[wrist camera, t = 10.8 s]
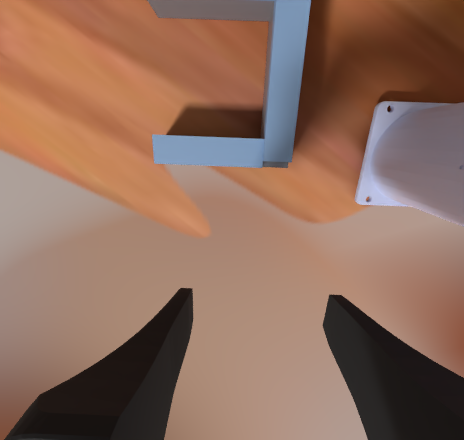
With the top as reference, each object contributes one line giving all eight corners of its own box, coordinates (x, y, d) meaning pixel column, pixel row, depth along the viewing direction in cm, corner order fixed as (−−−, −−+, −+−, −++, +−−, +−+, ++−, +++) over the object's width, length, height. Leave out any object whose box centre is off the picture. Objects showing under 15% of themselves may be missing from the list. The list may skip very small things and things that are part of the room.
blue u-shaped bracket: (314, -65, 13) (320, -81, 12) (287, 167, 17) (290, 169, 16) (140, -70, 13) (132, -87, 12) (157, 162, 17) (152, 163, 16)
